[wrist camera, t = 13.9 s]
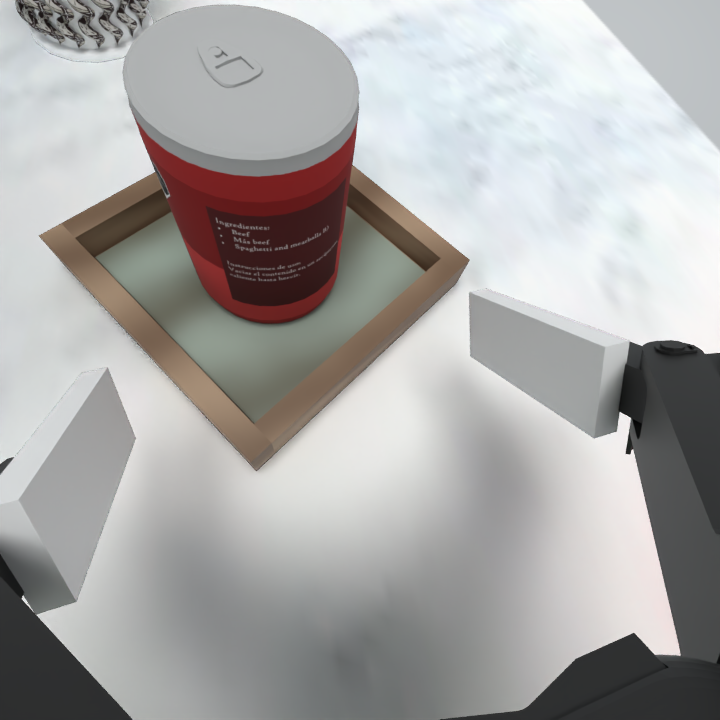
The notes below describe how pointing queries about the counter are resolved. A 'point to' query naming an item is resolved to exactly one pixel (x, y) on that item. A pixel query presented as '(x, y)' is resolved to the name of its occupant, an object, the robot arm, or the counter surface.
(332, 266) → the canned food
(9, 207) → the counter surface
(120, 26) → the decorative candle
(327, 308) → the tray
